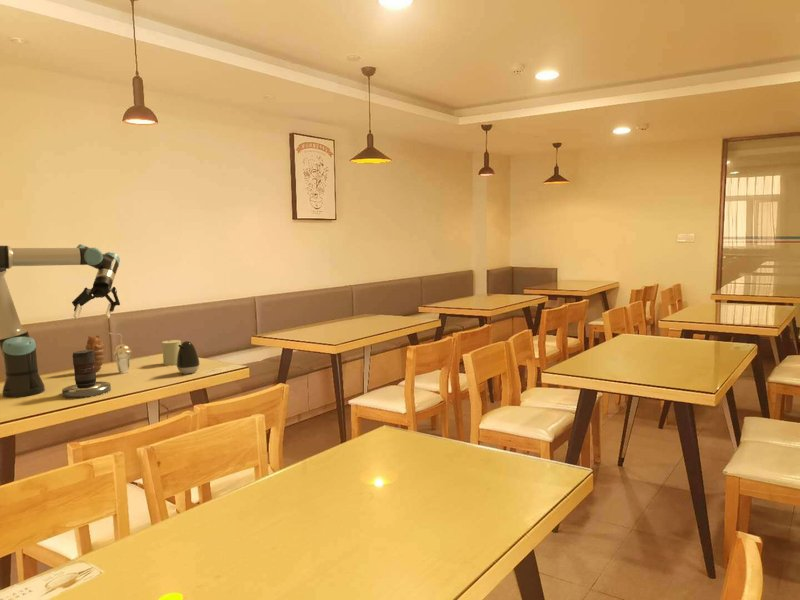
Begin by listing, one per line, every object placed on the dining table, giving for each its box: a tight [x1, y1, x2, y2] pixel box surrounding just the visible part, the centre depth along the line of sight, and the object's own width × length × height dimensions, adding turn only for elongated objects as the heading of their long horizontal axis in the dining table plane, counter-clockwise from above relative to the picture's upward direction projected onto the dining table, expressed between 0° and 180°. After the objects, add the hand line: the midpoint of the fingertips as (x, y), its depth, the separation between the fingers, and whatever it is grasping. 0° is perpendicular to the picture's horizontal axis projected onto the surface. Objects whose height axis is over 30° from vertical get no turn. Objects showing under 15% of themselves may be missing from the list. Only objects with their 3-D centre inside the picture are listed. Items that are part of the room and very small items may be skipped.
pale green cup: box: [161, 339, 182, 366], centre depth 303 cm, size 9×9×12 cm
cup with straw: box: [108, 331, 133, 374], centre depth 285 cm, size 8×9×20 cm
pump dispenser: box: [176, 340, 200, 375], centre depth 280 cm, size 10×10×15 cm
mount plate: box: [61, 381, 112, 399], centre depth 249 cm, size 18×18×3 cm
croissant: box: [85, 334, 106, 373], centre depth 289 cm, size 9×8×18 cm
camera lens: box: [72, 349, 97, 388], centre depth 248 cm, size 8×8×15 cm
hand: (91, 317), depth 261 cm, fingers open, 13 cm apart
